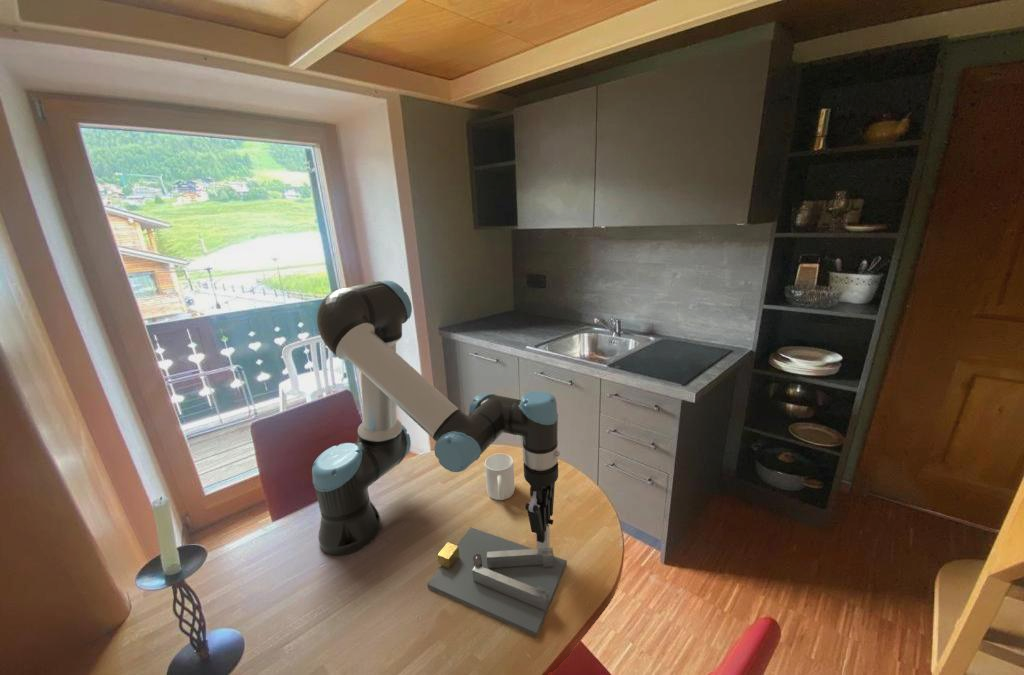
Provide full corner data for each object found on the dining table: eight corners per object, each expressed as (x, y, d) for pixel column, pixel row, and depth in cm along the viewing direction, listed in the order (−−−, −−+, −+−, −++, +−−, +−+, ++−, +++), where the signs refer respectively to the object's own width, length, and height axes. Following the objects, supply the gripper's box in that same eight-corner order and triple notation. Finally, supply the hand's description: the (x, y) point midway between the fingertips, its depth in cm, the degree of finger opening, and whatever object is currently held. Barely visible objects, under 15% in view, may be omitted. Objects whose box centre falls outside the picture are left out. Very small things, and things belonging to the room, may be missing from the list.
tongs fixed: (469, 580, 86) (468, 564, 85) (477, 568, 89) (475, 552, 88) (545, 611, 78) (544, 594, 77) (551, 597, 81) (550, 581, 80)
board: (427, 588, 86) (427, 583, 86) (470, 530, 101) (470, 527, 101) (536, 637, 75) (536, 632, 74) (566, 564, 90) (566, 560, 90)
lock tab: (438, 564, 90) (437, 554, 89) (448, 551, 93) (447, 542, 93) (449, 568, 89) (448, 559, 88) (459, 555, 92) (458, 546, 91)
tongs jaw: (487, 570, 88) (486, 560, 87) (487, 562, 90) (486, 551, 89) (553, 566, 88) (553, 555, 87) (552, 557, 90) (552, 547, 89)
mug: (516, 509, 108) (514, 477, 105) (486, 511, 108) (484, 479, 105) (513, 481, 120) (512, 452, 117) (487, 483, 119) (484, 454, 116)
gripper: (546, 483, 77) (548, 576, 84) (566, 449, 88) (567, 533, 95) (512, 474, 80) (517, 564, 87) (536, 442, 92) (538, 524, 98)
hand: (543, 548), depth 91 cm, fingers closed
